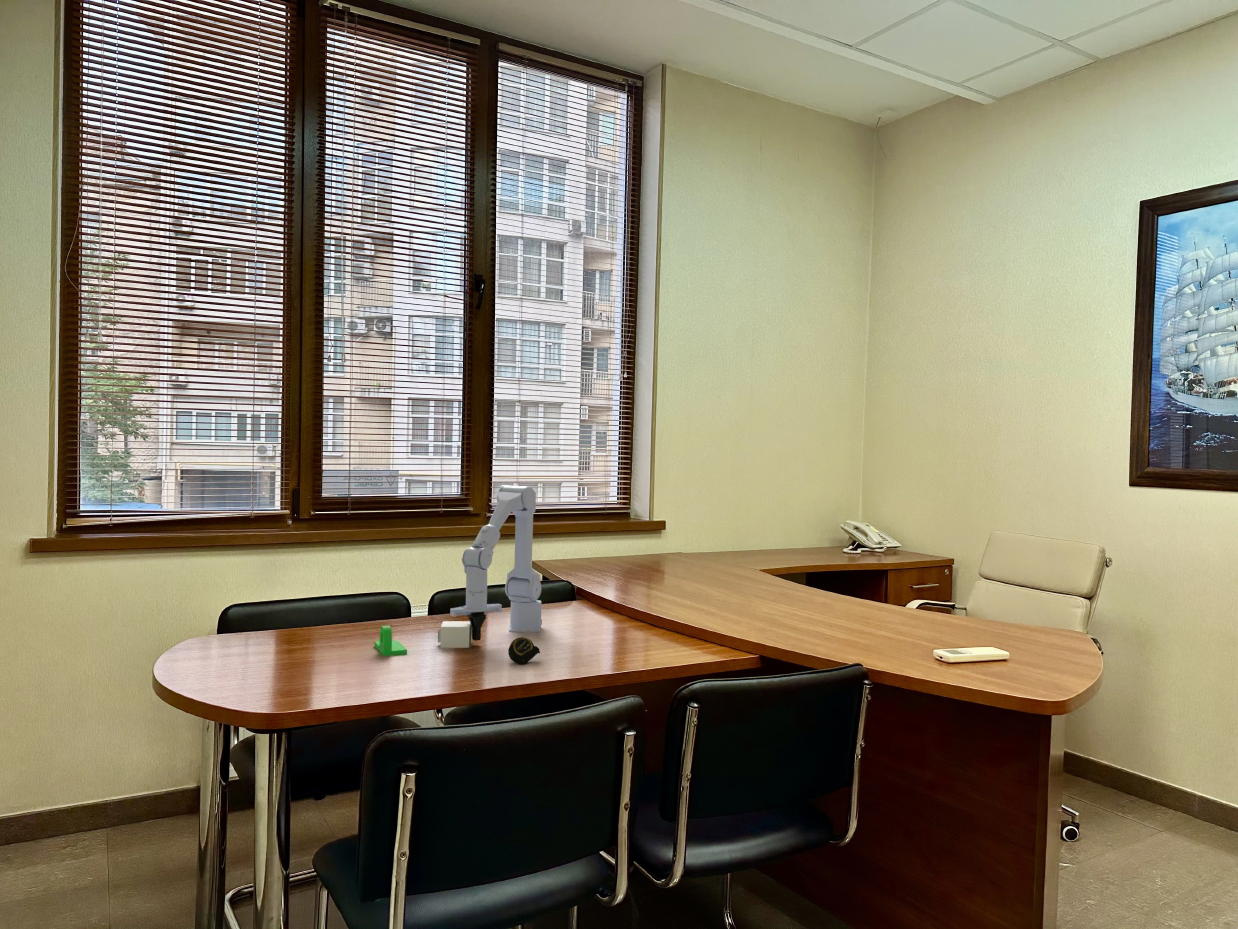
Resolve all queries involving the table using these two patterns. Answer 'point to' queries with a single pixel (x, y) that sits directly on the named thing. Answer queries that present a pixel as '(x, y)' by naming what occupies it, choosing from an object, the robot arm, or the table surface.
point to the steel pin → (440, 635)
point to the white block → (456, 634)
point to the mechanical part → (388, 643)
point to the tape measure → (522, 650)
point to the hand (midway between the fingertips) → (475, 639)
